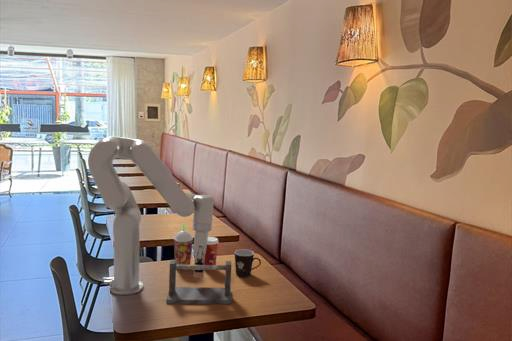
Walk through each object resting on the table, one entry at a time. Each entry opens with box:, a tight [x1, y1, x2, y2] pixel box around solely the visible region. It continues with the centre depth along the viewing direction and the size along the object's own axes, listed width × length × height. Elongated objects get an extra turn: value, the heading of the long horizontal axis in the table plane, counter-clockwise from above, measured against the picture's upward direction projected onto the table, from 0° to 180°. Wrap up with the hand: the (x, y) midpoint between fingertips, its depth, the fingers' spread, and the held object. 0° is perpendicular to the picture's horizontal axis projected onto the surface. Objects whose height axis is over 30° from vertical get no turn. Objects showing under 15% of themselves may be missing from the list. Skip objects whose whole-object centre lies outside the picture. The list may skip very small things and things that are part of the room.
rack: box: [166, 259, 232, 305], centre depth 164 cm, size 24×11×14 cm, turn 95°
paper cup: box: [204, 236, 219, 272], centre depth 193 cm, size 8×8×14 cm
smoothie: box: [173, 223, 194, 271], centre depth 192 cm, size 8×8×20 cm
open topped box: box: [193, 254, 205, 279], centre depth 174 cm, size 4×5×8 cm
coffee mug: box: [234, 248, 262, 278], centre depth 188 cm, size 12×9×10 cm
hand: (199, 268), depth 174 cm, fingers closed on open topped box, 5 cm apart
